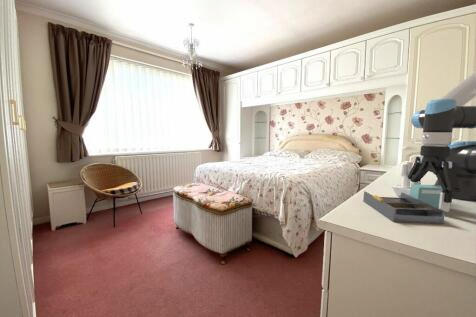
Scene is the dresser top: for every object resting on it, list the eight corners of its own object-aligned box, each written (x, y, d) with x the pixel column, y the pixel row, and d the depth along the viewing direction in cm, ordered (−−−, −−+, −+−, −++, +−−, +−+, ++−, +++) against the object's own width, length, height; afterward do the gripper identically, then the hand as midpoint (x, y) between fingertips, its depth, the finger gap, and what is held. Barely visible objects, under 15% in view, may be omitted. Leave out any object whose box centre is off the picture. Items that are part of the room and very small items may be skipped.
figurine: (419, 196, 91) (423, 161, 89) (411, 200, 85) (415, 163, 83) (398, 192, 97) (402, 159, 95) (390, 195, 91) (393, 160, 89)
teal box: (438, 206, 79) (440, 185, 78) (447, 210, 75) (450, 188, 74) (408, 205, 80) (411, 184, 79) (416, 209, 76) (419, 187, 75)
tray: (401, 202, 82) (402, 191, 82) (443, 224, 64) (445, 209, 63) (362, 201, 84) (363, 189, 83) (392, 221, 65) (393, 207, 64)
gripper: (400, 143, 87) (395, 193, 90) (455, 148, 62) (446, 217, 65) (420, 143, 86) (414, 194, 89) (484, 148, 62) (473, 218, 64)
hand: (427, 204), depth 77 cm, fingers open, 13 cm apart
